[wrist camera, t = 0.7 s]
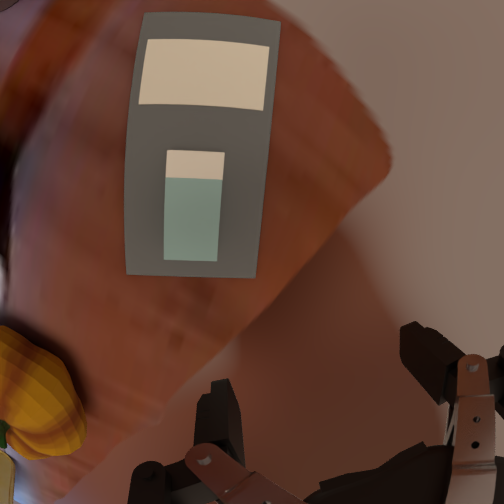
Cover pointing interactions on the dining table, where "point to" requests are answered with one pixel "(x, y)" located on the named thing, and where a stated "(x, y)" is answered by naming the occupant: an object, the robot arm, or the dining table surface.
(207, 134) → the mat
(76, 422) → the decorative pumpkin
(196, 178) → the two-tone rectangular block
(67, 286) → the dining table surface
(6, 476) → the picnic basket
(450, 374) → the robot arm
